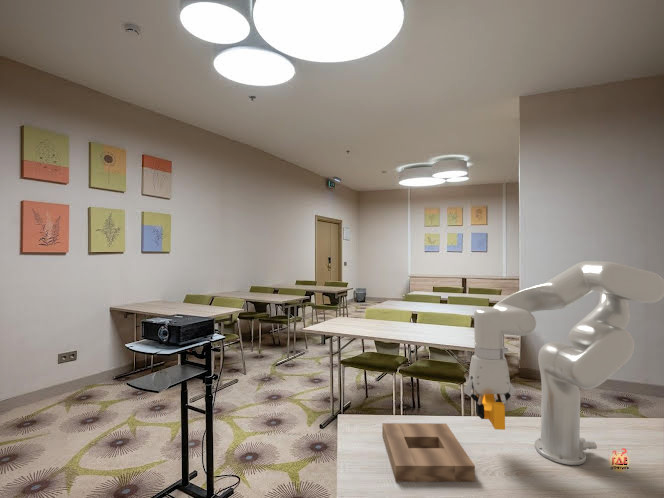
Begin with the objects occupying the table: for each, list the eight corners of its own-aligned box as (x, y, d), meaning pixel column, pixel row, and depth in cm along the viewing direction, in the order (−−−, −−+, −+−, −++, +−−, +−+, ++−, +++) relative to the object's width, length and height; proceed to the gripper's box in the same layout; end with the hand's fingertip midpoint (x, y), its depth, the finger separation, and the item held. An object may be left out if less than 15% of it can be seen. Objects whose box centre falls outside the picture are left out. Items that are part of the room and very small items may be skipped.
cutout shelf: (446, 436, 114) (446, 423, 114) (474, 481, 92) (474, 465, 92) (382, 436, 114) (382, 423, 114) (395, 481, 92) (395, 465, 92)
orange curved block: (476, 408, 109) (476, 387, 109) (492, 409, 108) (491, 387, 108) (487, 428, 97) (487, 404, 97) (505, 429, 97) (504, 405, 97)
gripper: (512, 347, 107) (513, 409, 107) (454, 349, 107) (455, 411, 107) (526, 355, 99) (527, 422, 100) (464, 357, 99) (465, 424, 99)
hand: (490, 415), depth 103 cm, fingers closed on orange curved block, 4 cm apart
